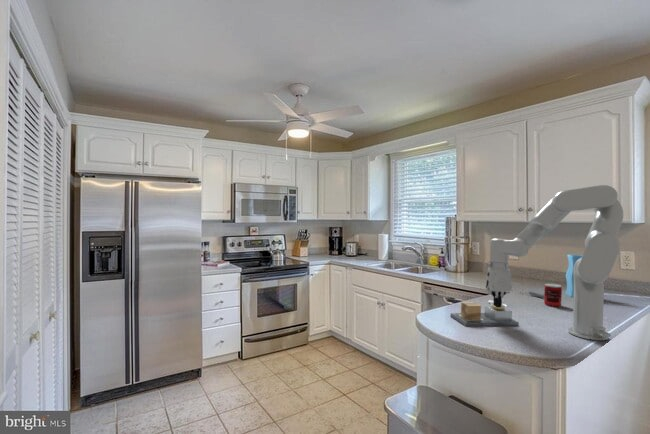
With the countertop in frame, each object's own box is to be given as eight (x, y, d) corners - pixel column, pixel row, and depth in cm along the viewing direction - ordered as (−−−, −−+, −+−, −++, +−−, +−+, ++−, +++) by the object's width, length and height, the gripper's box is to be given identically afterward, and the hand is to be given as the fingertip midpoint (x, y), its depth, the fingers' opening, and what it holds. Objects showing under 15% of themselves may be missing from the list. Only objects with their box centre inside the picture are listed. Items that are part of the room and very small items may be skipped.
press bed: (518, 325, 144) (518, 313, 144) (465, 326, 142) (465, 313, 142) (498, 316, 158) (499, 304, 158) (450, 316, 156) (450, 304, 156)
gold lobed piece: (506, 317, 148) (507, 307, 148) (495, 317, 148) (496, 307, 148) (499, 314, 153) (500, 304, 153) (489, 314, 153) (489, 304, 153)
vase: (571, 297, 199) (572, 256, 199) (565, 294, 208) (566, 254, 208) (590, 299, 196) (591, 257, 196) (583, 295, 205) (584, 255, 205)
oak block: (480, 319, 147) (480, 305, 147) (467, 319, 146) (467, 305, 146) (473, 315, 153) (473, 302, 153) (461, 315, 152) (461, 302, 152)
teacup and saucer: (485, 303, 182) (485, 296, 182) (496, 302, 185) (496, 295, 185) (499, 308, 174) (499, 300, 174) (510, 306, 176) (510, 299, 176)
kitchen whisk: (554, 302, 187) (555, 292, 187) (503, 290, 217) (503, 281, 217) (561, 302, 189) (561, 291, 189) (509, 290, 219) (509, 280, 219)
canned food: (554, 303, 184) (554, 283, 184) (565, 307, 177) (565, 286, 176) (540, 303, 184) (541, 283, 184) (550, 307, 176) (551, 286, 176)
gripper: (487, 266, 146) (486, 308, 146) (519, 267, 147) (518, 308, 147) (478, 264, 153) (477, 303, 154) (509, 264, 155) (507, 303, 155)
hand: (497, 305), depth 151 cm, fingers closed
